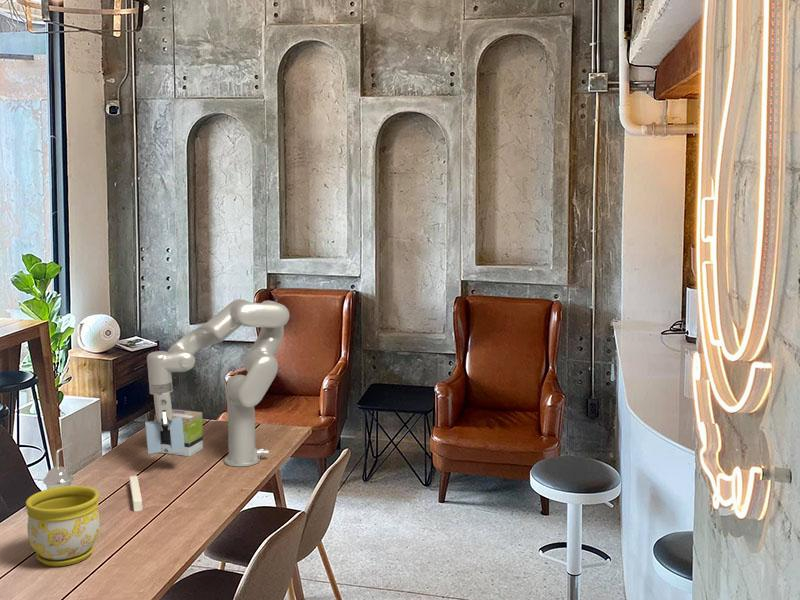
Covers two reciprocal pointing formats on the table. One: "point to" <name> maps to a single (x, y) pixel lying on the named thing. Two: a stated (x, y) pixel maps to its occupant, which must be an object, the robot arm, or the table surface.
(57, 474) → the cup with straw
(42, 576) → the table surface
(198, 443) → the tea box
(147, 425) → the grey-blue plate
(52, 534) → the flowerpot
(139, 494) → the rail
